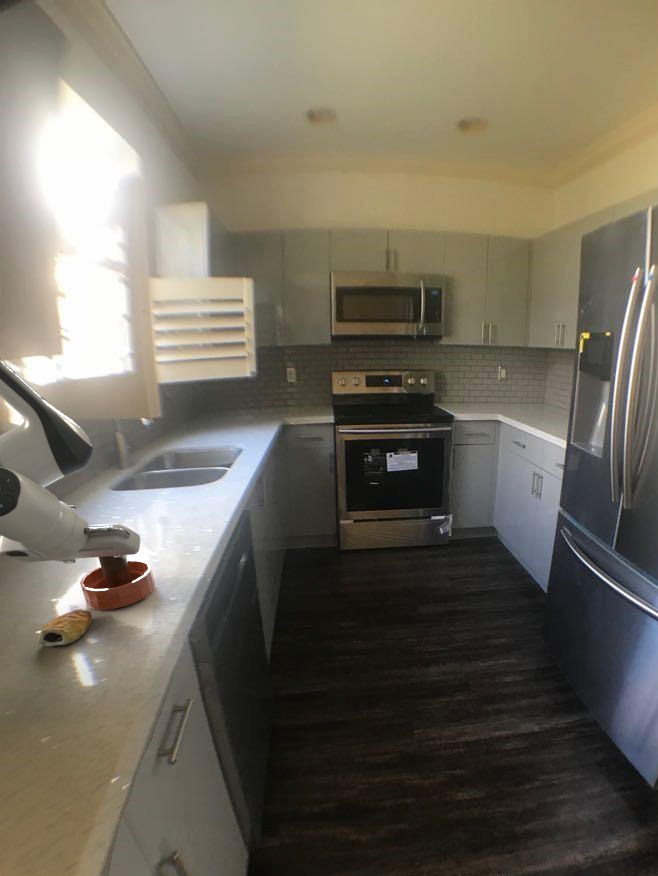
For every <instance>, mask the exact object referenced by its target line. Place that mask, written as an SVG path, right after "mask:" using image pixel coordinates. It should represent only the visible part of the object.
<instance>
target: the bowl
mask: <svg viewBox="0 0 658 876" xmlns="http://www.w3.org/2000/svg"><path fill="white" fill-rule="evenodd" d="M127 562H128V565H129V569H130V573H131V577H132V581H133V582H131V583H128V584H125V585H122V586H119V587H115V588H109V589H107V585H106V582H105V579H104V575H103V572H102V568H101V566H99V567H97V568H95V569H93V570H91V571H89V572H88V573H86V574H85V575H84V576H83V577H82V578H81V580H80V582H79V583H80V587H81V590H82V594H83V597H84V600H85V603H86V606H88V607H90V608H91V609H95V610H112V609H118V608H123V607H126V606H129V605H132V604H135V603H137V602H138V601H141V600H143V599H144V598H146V597H147V596H148V595H150V594H151V593H152V592H153V591H154V590H155V587H156V582H155V576H154V573H153V570H152V566H151V564H150V563H149V562H147V561H145V560H143V559H127Z"/></svg>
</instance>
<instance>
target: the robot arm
mask: <svg viewBox="0 0 658 876" xmlns="http://www.w3.org/2000/svg"><path fill="white" fill-rule="evenodd" d="M0 398H1V399H2V400H3V401H4V402H6V403H7V404H8V405H9V406H10V407H12V409H14V410H15V411H16V412H17V413H18V414H19V415H21V417H23V418H24V420H23V422H22V423H21V424H20V425H17V426H16V427H14V428H12V429H10V430H8V431H6V432H4V433H2V434H0V555H1V556H4V557H10V558H11V559H14V560H17V561H19V562H25V563H36V562H49V561H51V562H53V561H54V562H62V563H64V564H67V565H68V564H74V563H76V560H78V559H90V558H98V557H105V556H115V558H116V559H118V560H119V559H126V558H127V556H131V555H136V554H138V553H139V551H140V549H141V548H140V547H141V535H140V534H139V533H137V532H136V531H134V530H132V529H131V528H129V527H127V526H125V525H122V524H118V523H104V524H89V522H88V520H87V519H86V518H85V517H84V516H83V515H82V514H81V513H79V512H78V511H77V510H75V509H74V508H72V506H70V505H68V504H67V503H66V502H64V501H61V500H59V499H58V497H57V496H56V495H55V494H54V493H52V491H50V490H49V489H47V488H46V487H47V486H50V485H51V484H53V483H55V482H57V481H58V480H60V479H62V478H65V477H69V476H71V475H73V474H75V473H77V472H80V471H82V470H84V469H87V467H88V465H89V463H90V461H91V459H92V455H93V449H94V446H93V444H92V443H91V439H90V438H89V436H88V435H87V434H86V432H85V431H84V430H83V429H82V427H81V426H80V425H78V424H77V423H76V422H74V421H73V420H72V419H71V418H69V417H68V416H66V415H65V414H63V413H62V412H61V411H59V410H58V409H57V408H55V407H54V406H53V405H52V404H51V403H50V402H48V401H47V399H45V398H44V397H43V396H42V395H40V394H39V392H37V390H35V389H34V388H33V387H32V386H31V385H29V383H27V381H26V380H25V379H23V378H22V377H21V376H20V375H19V374H18V373H17V372H16V371H14V370H13V368H11V367H10V365H8V364H7V363H5V362H4V361H3V360H2V359H1V358H0ZM127 559H128V558H127Z"/></svg>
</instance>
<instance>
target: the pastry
mask: <svg viewBox="0 0 658 876" xmlns="http://www.w3.org/2000/svg"><path fill="white" fill-rule="evenodd" d="M92 621H93V618H92V613H91V612H90V611H89V610H85V609H84V610H83V609H75V610H72V611H70V612H67V613H64V614H62V615H59V616H57V617H56V618H52V619H50V621H49V623H46V624H44V625H43V627H41V630H40V633H39V635H38V638H37V643H38V644H39V645H41V646H42V647H44V648H49V647H52V648H53V647H56V646H66V645H69V644H72V643H75V642H76V641H77V640H79V639H80V638H81V637H82V636H83V635H85V633H87V630H88V629H89V627H90V625H91V624H92Z"/></svg>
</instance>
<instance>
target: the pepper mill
mask: <svg viewBox="0 0 658 876" xmlns="http://www.w3.org/2000/svg"><path fill="white" fill-rule="evenodd" d="M97 558H98V561H99V565H100V567H101V568H102V572H103V575H104V579H105V582H106V585H107V589H109V588H115V587H119V586H122V585H125V584H128V583H131V582H133V581H132V577H131V573H130V569H129V565H128V562H127V560H128V558H126V559H119V560H118V559H116V558H115V556H105V557H97Z"/></svg>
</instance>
